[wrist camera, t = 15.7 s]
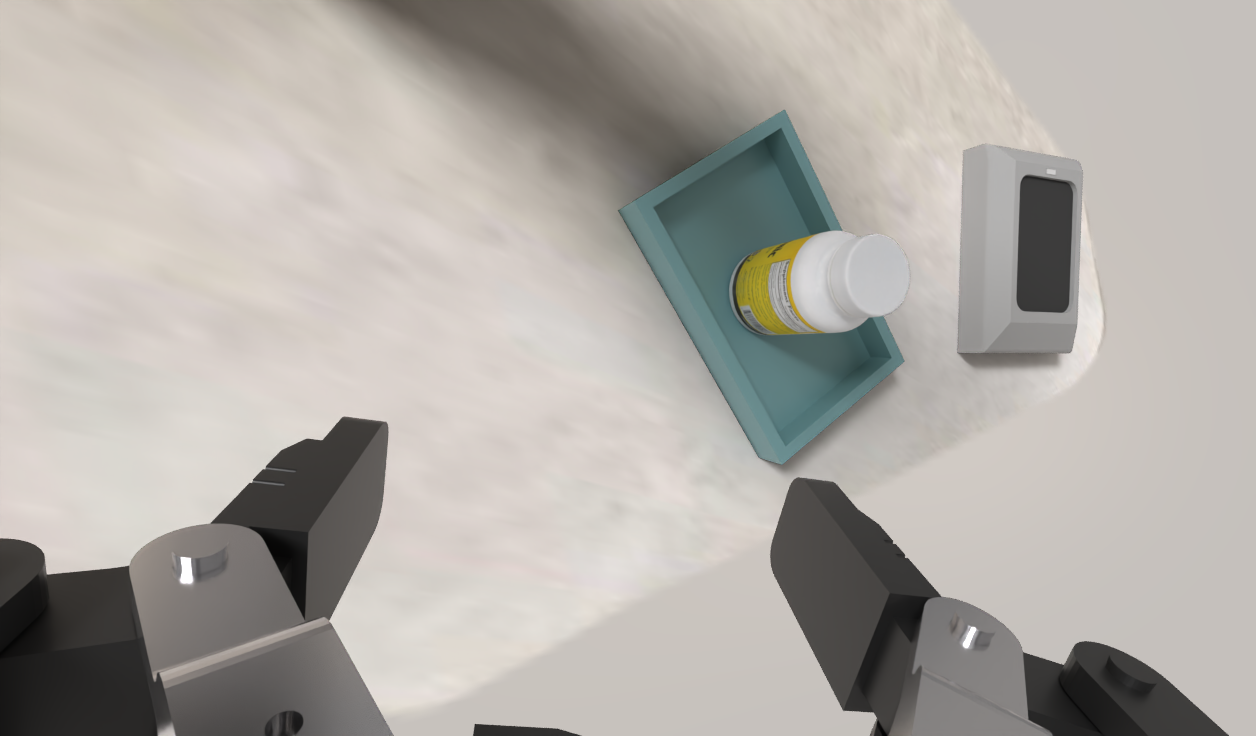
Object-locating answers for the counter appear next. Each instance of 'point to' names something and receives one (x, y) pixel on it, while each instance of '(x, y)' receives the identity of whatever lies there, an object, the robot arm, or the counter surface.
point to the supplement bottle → (819, 284)
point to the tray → (701, 272)
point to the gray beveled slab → (1019, 251)
